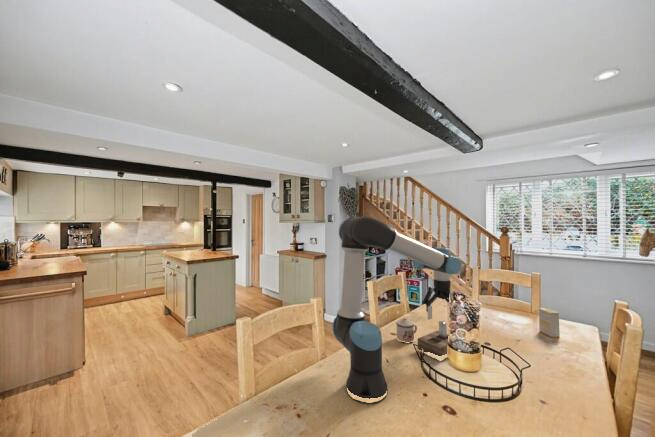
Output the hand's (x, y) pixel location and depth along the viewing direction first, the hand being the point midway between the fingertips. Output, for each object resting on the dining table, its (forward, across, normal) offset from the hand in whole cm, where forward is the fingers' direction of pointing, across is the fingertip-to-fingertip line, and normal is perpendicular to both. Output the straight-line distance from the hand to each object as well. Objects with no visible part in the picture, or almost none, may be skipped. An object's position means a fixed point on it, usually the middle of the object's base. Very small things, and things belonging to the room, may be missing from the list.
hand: (442, 323), depth 128 cm
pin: (+12, 0, -1) cm, 12 cm away
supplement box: (+12, -23, -62) cm, 67 cm away
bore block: (+13, 0, +3) cm, 13 cm away
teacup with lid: (+13, +17, +5) cm, 22 cm away
